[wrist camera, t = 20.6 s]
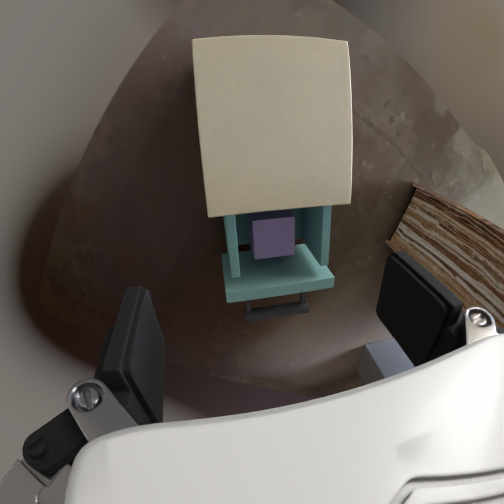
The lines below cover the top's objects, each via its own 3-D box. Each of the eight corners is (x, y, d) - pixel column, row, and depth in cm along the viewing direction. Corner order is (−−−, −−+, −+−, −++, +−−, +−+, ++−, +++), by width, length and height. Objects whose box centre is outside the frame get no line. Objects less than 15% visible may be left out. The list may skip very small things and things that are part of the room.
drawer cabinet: (312, 178, 31) (350, 204, 23) (208, 187, 30) (208, 218, 22) (308, 59, 25) (348, 41, 17) (196, 62, 24) (191, 39, 16)
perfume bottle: (386, 361, 49) (428, 431, 33) (356, 369, 49) (395, 446, 33) (396, 337, 46) (446, 410, 30) (365, 344, 46) (412, 426, 30)
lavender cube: (249, 242, 32) (254, 259, 28) (246, 207, 30) (252, 220, 26) (285, 238, 32) (295, 254, 28) (284, 203, 30) (294, 216, 27)
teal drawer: (308, 286, 37) (329, 324, 30) (227, 297, 36) (232, 340, 29) (310, 146, 29) (341, 157, 22) (210, 153, 28) (210, 166, 21)
